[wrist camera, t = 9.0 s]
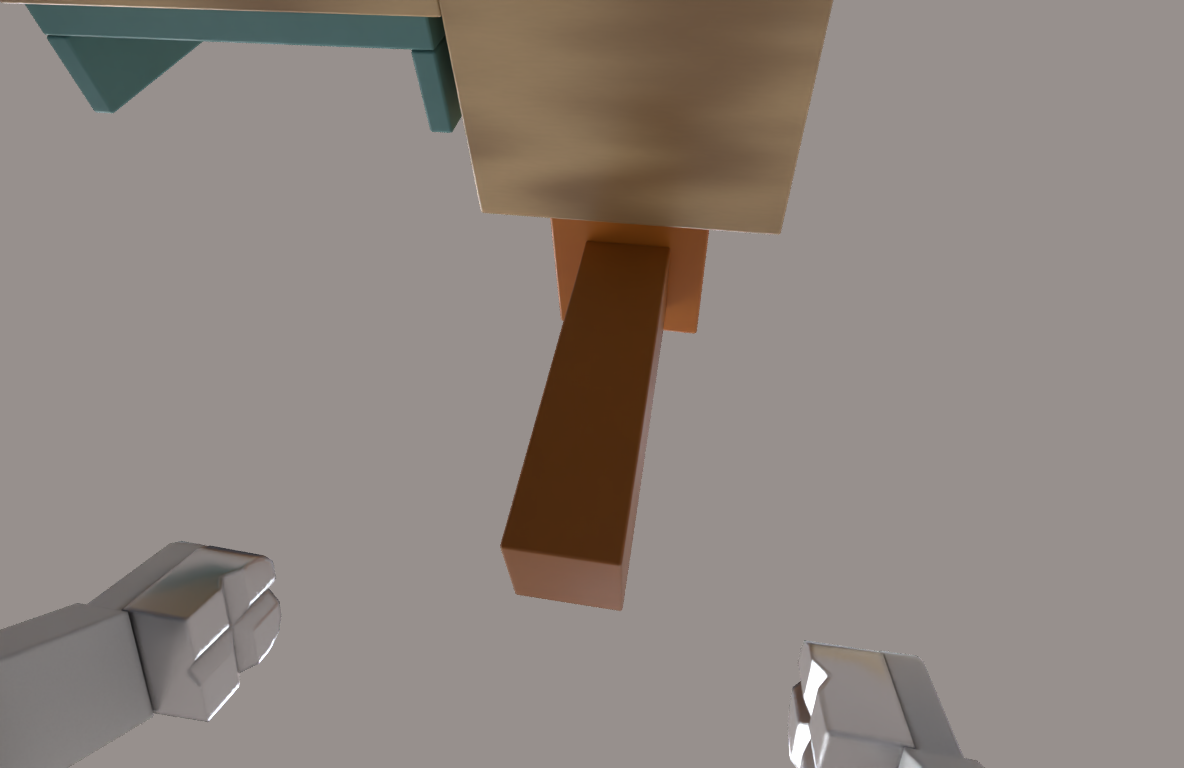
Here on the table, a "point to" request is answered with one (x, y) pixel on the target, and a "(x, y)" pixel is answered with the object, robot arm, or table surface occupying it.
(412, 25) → the tray
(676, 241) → the orange block with handle
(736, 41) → the riser
